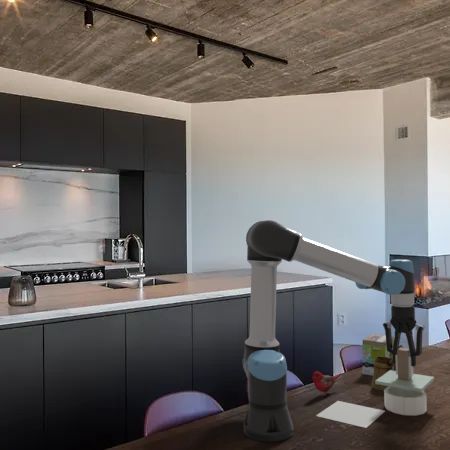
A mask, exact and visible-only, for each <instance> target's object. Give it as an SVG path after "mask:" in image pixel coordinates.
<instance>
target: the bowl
mask: <svg viewBox="0 0 450 450" xmlns="http://www.w3.org/2000/svg"><path fill="white" fill-rule="evenodd" d="M383 393H384V394H383V396H384V397H383V401H384V402H383V403H384V405H383V406H384V407H385V409H386V410H387V411H389V412H392V413H394V414H397V415H401V416H415V417H416V416H420V415H424V414H426V412H427V411H428V408H427V407H428V405H427V404H428V401H427V392H426V391H425V389H424V390H423V391H422V392H419V391H413V390H408V389H402V388H396V387H391V386H389V387H387V388H385V389H384V390H383Z"/></svg>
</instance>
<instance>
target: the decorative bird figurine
mask: <svg viewBox="0 0 450 450" xmlns="http://www.w3.org/2000/svg"><path fill="white" fill-rule="evenodd" d="M341 375H342V373H341V372H340V373H338V374H337V375H335V376H331V375H324V374H322V373H321V372H320V371H318V370H316V371H314V372H313V373H312V377H311V379H312V380H313V384H314V386H315V389H316V390H318V391H319V392H320V393H321V392H322V393H323V394H321V397H323V396H325V395H328V394H329V393H328V391H329V390H330V389H331V388H332V387H333V386H334V385H335V382H336V380H337V379H338V378H339V377H340V376H341Z"/></svg>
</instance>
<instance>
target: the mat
mask: <svg viewBox="0 0 450 450" xmlns="http://www.w3.org/2000/svg"><path fill="white" fill-rule="evenodd" d="M385 412H386V410H383V409H378V408H374V407H370V406H369V407H368V406H364V405H359V404H355V403H351V402H345V401H341V400H336V401H335V402H334V403H332V404H331V405H329V406H328V407H327V408H325V409H323V410H322V411H321V412H319V413H318V414H316V415H315V416H316V417H317V418H318V417H319V418H323V419H327V420H332V421H335V422H340V423H344V424H348V425H352V426H357V427H361V428H365V429H367V428H368V427H369V426H370V425H372V423H374V422H375V421H376V420H377V419H378V418H380V416H382V415H383V414H384V413H385Z"/></svg>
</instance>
